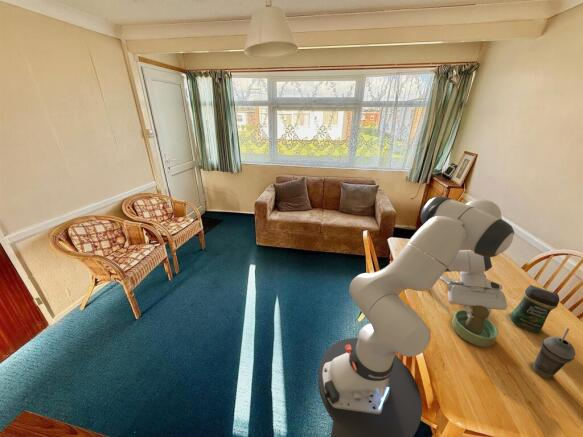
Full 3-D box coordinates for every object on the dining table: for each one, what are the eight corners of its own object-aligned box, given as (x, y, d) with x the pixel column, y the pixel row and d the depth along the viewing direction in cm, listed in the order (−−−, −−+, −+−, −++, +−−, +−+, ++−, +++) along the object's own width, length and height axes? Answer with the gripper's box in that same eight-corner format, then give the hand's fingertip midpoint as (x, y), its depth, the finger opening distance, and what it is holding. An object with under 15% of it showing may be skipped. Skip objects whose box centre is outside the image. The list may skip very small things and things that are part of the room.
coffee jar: (509, 323, 98) (528, 290, 90) (509, 312, 104) (527, 280, 96) (541, 336, 92) (564, 302, 85) (539, 324, 98) (560, 291, 90)
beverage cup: (535, 378, 78) (565, 338, 69) (522, 358, 84) (548, 319, 76) (562, 385, 76) (596, 344, 67) (547, 364, 82) (576, 325, 74)
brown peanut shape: (460, 325, 95) (469, 305, 90) (468, 320, 97) (477, 300, 93) (476, 337, 90) (487, 316, 85) (484, 331, 92) (495, 311, 88)
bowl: (468, 348, 88) (472, 339, 85) (443, 318, 100) (446, 310, 98) (502, 346, 89) (508, 337, 86) (473, 317, 101) (477, 308, 99)
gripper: (450, 279, 94) (454, 315, 89) (506, 285, 91) (513, 323, 86) (442, 281, 100) (446, 315, 95) (495, 287, 97) (501, 322, 92)
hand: (478, 319), depth 91 cm, fingers closed on brown peanut shape, 4 cm apart
